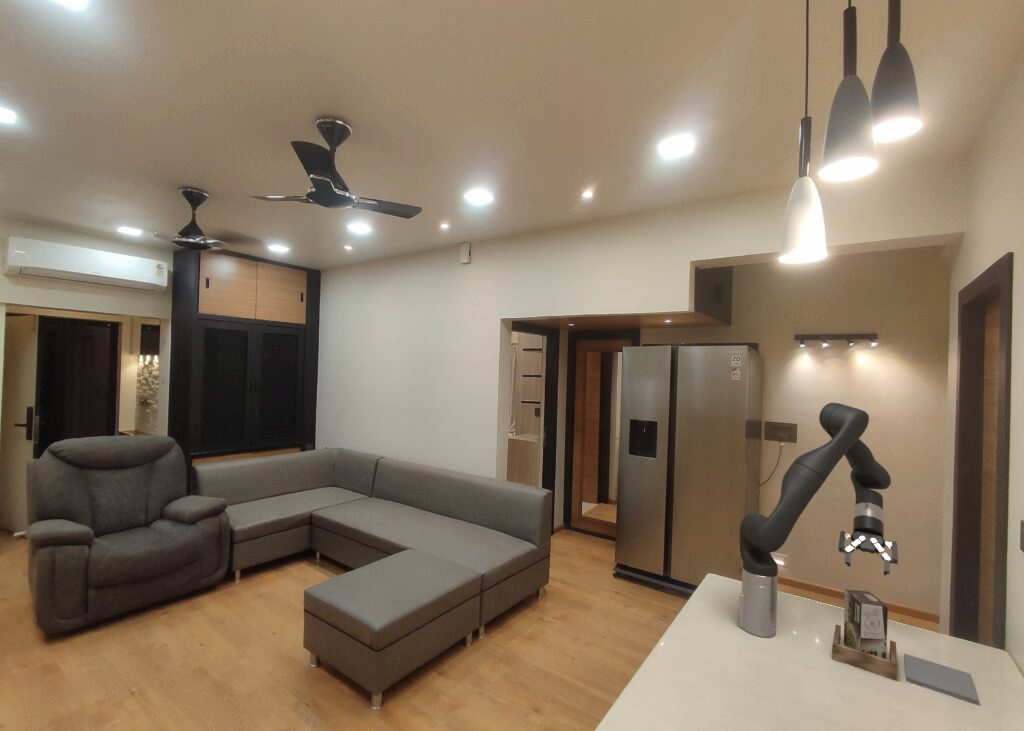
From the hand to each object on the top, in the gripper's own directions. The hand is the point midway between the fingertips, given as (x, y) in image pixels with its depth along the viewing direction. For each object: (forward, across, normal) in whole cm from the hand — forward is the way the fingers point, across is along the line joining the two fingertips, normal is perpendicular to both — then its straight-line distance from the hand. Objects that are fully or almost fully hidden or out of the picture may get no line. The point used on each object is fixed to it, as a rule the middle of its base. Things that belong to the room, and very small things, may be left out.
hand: (866, 569), depth 138 cm
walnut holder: (+23, 0, +4) cm, 24 cm away
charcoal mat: (+23, +15, +4) cm, 28 cm away
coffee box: (+24, 0, +4) cm, 24 cm away
